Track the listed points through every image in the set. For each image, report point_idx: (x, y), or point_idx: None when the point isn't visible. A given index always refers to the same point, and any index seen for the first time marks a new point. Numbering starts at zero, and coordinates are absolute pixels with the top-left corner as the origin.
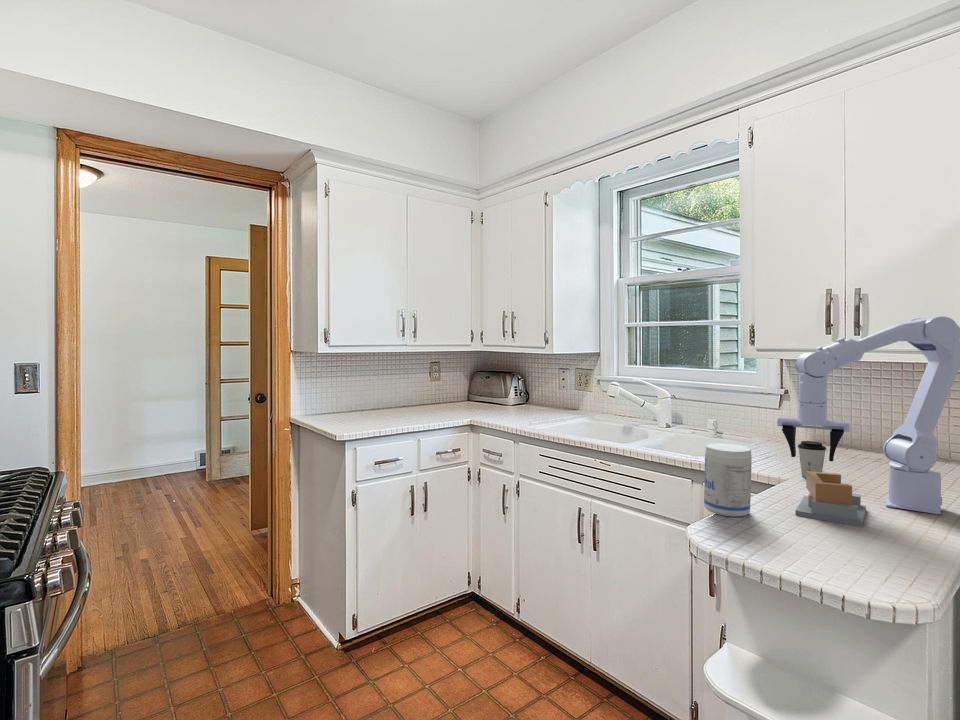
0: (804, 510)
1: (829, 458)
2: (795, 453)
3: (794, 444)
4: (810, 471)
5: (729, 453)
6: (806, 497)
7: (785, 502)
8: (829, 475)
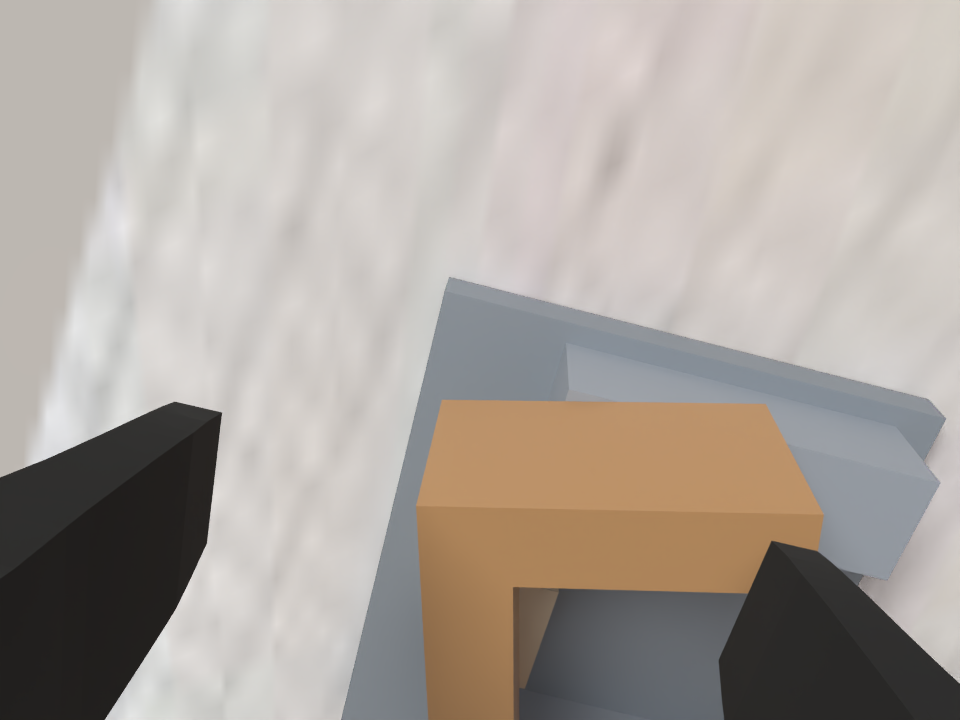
0: (399, 710)
1: (726, 711)
2: (198, 475)
3: (89, 632)
4: (462, 520)
5: None
6: (458, 338)
7: (286, 415)
8: (672, 581)
